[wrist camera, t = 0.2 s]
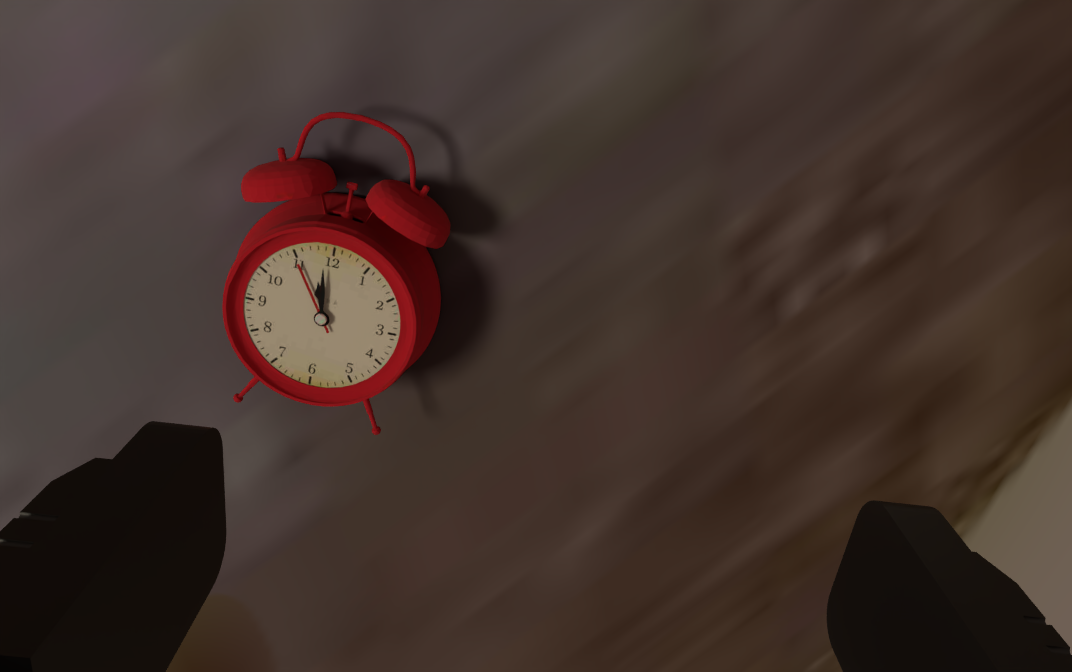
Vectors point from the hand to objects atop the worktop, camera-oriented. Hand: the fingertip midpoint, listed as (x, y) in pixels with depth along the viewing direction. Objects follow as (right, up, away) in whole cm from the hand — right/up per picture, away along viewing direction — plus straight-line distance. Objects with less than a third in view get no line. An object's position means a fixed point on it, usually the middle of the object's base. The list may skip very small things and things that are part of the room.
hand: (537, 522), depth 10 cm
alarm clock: (-10, +6, +29) cm, 32 cm away
